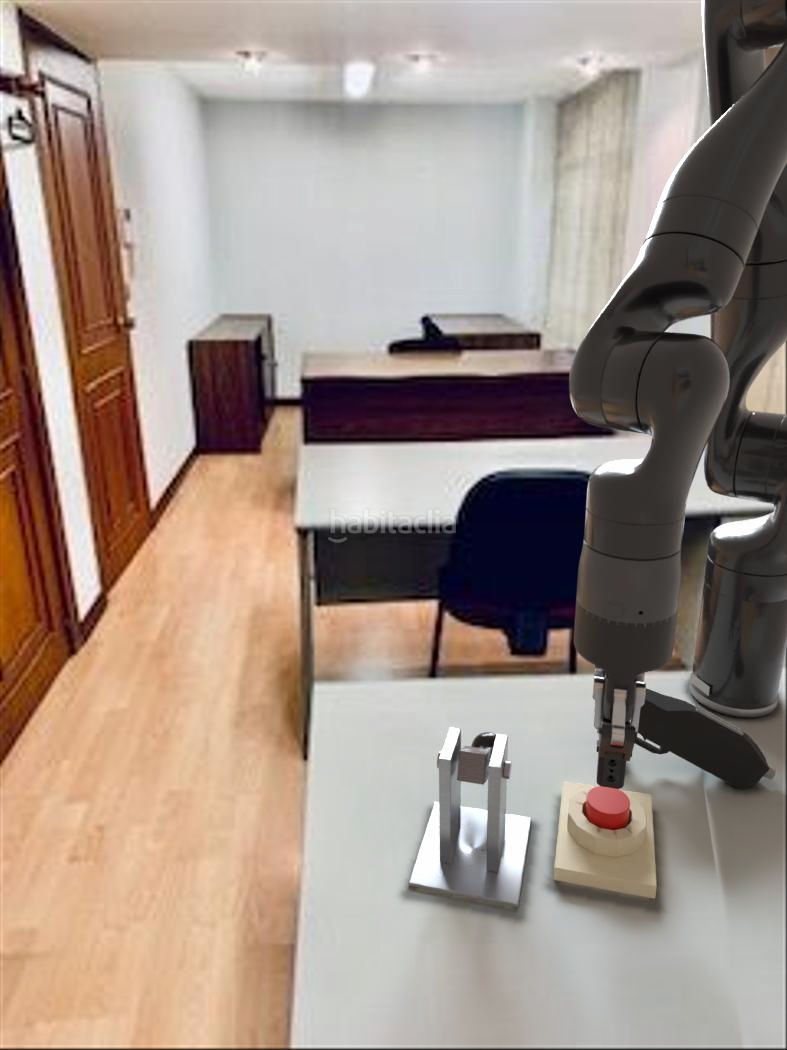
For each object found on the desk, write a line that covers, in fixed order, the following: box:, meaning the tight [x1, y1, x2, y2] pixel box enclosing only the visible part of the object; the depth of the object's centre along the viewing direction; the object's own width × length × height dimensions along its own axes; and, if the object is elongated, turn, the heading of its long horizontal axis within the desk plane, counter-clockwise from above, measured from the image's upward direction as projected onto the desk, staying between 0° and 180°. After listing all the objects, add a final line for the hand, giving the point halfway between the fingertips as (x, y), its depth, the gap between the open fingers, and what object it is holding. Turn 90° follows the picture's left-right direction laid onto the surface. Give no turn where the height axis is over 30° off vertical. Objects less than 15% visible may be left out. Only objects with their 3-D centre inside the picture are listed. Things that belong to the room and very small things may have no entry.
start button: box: [586, 785, 630, 830], centre depth 65 cm, size 4×4×2 cm
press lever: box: [457, 731, 497, 786], centre depth 67 cm, size 12×3×3 cm, turn 164°
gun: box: [634, 687, 777, 791], centre depth 75 cm, size 3×16×10 cm, turn 78°
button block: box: [553, 780, 658, 900], centre depth 66 cm, size 11×8×4 cm
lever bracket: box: [408, 726, 532, 908], centre depth 64 cm, size 10×9×12 cm
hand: (609, 781), depth 64 cm, fingers closed
